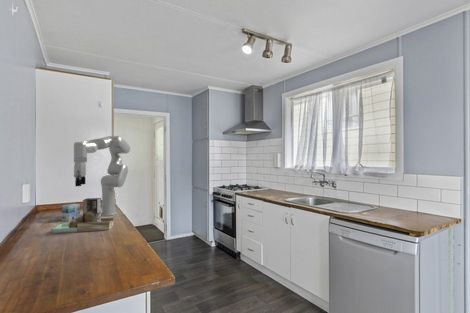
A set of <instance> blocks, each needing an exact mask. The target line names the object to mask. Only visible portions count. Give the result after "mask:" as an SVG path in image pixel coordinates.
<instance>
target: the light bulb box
mask: <svg viewBox="0 0 470 313" xmlns="http://www.w3.org/2000/svg"><path fill="white" fill-rule="evenodd" d="M79 217H81V204H80V203H70V204H64V205H61V221H62V222H71V221H76V218H79Z"/></svg>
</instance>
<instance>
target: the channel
mask: <svg viewBox="0 0 470 313" xmlns="http://www.w3.org/2000/svg"><path fill="white" fill-rule="evenodd" d="M114 221H115V217H112V216H109V217H101V222H85V223H78V224H77V232H76V233H79V232H95V231H110V230H111V228H112V227H113V226H115V225H114V223H115V222H114Z"/></svg>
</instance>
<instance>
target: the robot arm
mask: <svg viewBox="0 0 470 313" xmlns="http://www.w3.org/2000/svg"><path fill="white" fill-rule="evenodd" d="M104 149H109V153H110V156H111V157H110V158H111V159H110V163H109V164H108V167H107V170H106V171H107V175H103V176H102V177H101V179H100V185H101V186H100V187H101V217H112V216H116V215H118V212H117V211H116V189H114V188H121V187H123V186H124V184H125V181H126V178H127V175H128V172H129V167H128V166H127V164H125V163H123V159H122V156H121V155H122V154H123V155H124V154H128V153H130V152H131V146H130V144H129V143H128V142H127V141H126V140H125V139H124V138H123V137H122V136H119V135H109V136H105V137H100V138H94V139H90V140H84V141H83V140H82V141H76V142H73V163H74V167H73V177H74V179H75V187H81V186H82V185H86V175H87V174H86V173H87V167H86V166H87V165H86V163H87V162H88V154H93V153H96V152H97V151H99V150H100V151H101V150H104Z"/></svg>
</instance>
